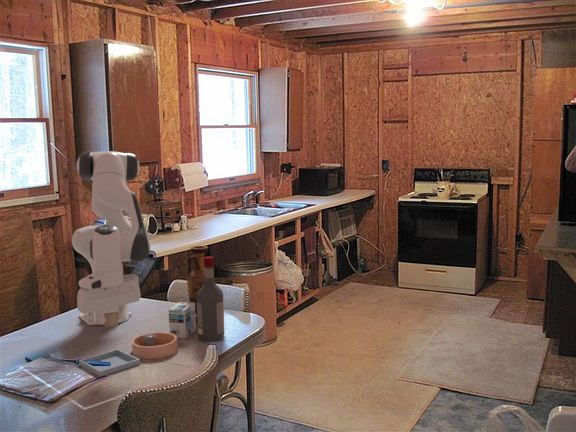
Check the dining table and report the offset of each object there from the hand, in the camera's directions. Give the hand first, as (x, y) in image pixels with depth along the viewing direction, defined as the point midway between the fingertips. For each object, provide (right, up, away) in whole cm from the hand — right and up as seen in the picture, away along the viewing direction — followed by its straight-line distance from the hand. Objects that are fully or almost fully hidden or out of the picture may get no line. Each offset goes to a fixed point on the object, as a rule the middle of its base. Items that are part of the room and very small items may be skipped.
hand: (111, 320), depth 190 cm
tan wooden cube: (0, -1, 0) cm, 1 cm away
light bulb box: (+17, -11, +35) cm, 40 cm away
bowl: (+10, -14, +16) cm, 23 cm away
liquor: (+28, -12, +29) cm, 42 cm away
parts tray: (-2, -15, +4) cm, 16 cm away
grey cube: (+8, -12, +18) cm, 23 cm away
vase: (+21, -9, +50) cm, 55 cm away
